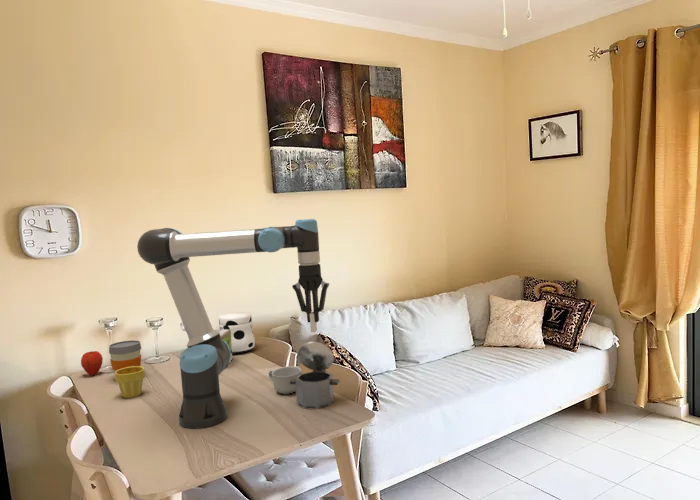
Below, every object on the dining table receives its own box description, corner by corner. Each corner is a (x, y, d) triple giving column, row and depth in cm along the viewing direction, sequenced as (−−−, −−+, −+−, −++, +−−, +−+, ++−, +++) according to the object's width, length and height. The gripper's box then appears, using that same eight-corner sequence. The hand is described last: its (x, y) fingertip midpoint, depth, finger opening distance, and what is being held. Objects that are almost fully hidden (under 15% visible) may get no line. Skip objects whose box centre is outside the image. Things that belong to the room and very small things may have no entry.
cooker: (334, 409, 178) (333, 382, 178) (286, 408, 182) (285, 381, 181) (344, 395, 191) (342, 370, 191) (299, 394, 195) (297, 369, 194)
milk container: (261, 346, 270) (258, 311, 269) (246, 356, 253) (243, 318, 252) (229, 346, 274) (226, 311, 273) (213, 356, 257) (210, 318, 256)
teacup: (308, 390, 199) (307, 369, 199) (286, 398, 192) (284, 376, 191) (284, 383, 209) (283, 363, 208) (262, 391, 201) (260, 370, 201)
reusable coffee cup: (108, 379, 229) (105, 344, 228) (139, 372, 236) (136, 338, 235) (115, 385, 219) (112, 349, 218) (147, 378, 226) (144, 343, 225)
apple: (84, 379, 230) (82, 354, 229) (80, 375, 236) (77, 351, 236) (106, 375, 235) (103, 350, 234) (101, 371, 242) (98, 347, 241)
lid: (330, 342, 184) (331, 338, 186) (294, 342, 187) (296, 338, 188) (335, 371, 190) (337, 366, 192) (301, 370, 193) (303, 366, 194)
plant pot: (135, 400, 199) (133, 374, 199) (111, 399, 202) (108, 374, 201) (151, 390, 210) (149, 366, 209) (127, 390, 212) (125, 365, 211)
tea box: (225, 369, 233) (222, 335, 232) (202, 370, 234) (199, 337, 232) (233, 359, 248) (230, 328, 247) (211, 361, 249) (209, 329, 247)
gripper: (330, 261, 188) (334, 328, 189) (294, 263, 191) (299, 329, 192) (324, 264, 180) (329, 333, 182) (287, 265, 183) (292, 334, 185)
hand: (314, 331), depth 187 cm, fingers closed
